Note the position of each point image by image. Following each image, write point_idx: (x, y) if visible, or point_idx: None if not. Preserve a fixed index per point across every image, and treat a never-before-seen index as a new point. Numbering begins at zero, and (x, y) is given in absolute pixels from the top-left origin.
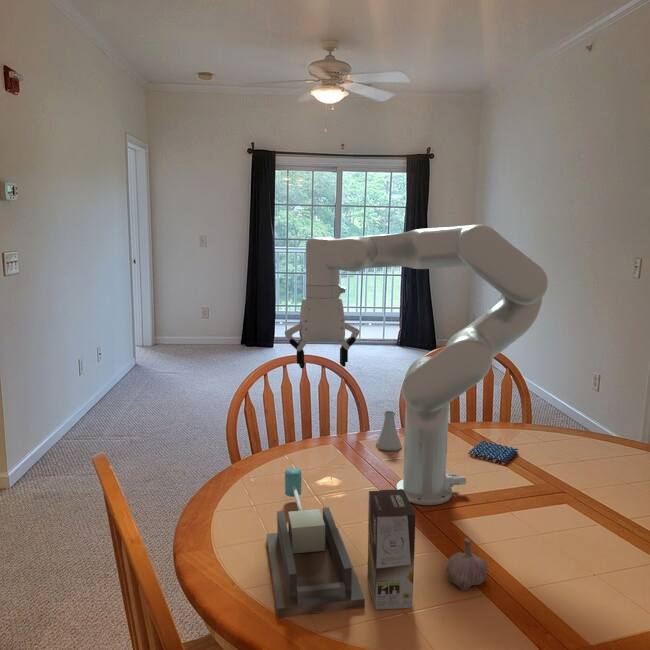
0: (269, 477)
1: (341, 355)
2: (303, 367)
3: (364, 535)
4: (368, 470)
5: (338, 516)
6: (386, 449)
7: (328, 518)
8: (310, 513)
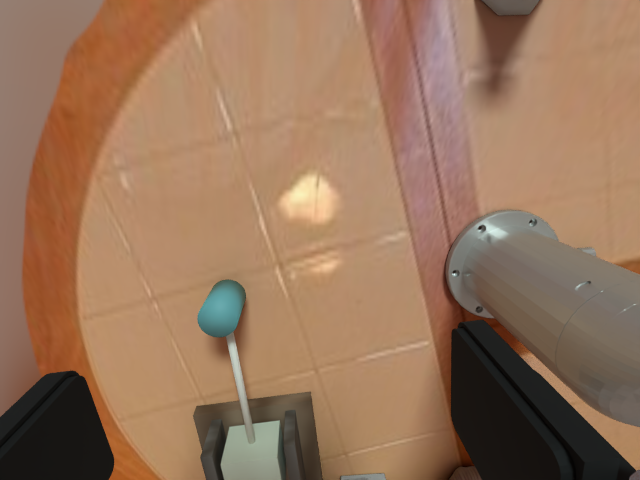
0: (165, 172)
1: (500, 471)
2: (108, 467)
3: (353, 394)
4: (413, 146)
5: (317, 341)
6: (498, 11)
7: (291, 476)
8: (260, 469)
